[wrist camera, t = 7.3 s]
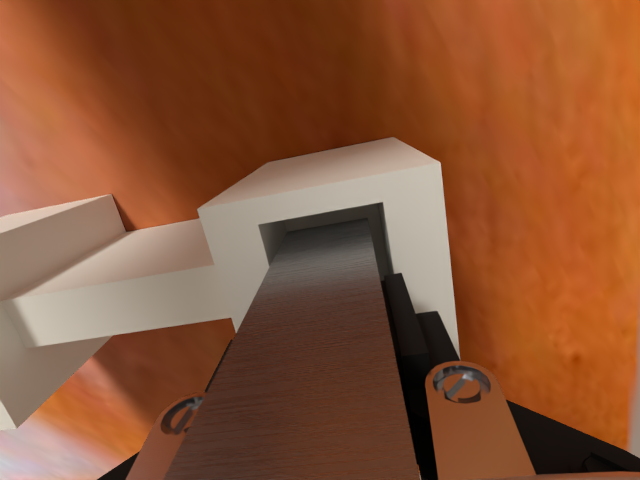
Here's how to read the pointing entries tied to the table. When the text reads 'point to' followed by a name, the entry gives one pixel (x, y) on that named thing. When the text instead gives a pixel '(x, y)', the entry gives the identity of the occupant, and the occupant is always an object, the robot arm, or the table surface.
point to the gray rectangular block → (307, 374)
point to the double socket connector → (203, 259)
